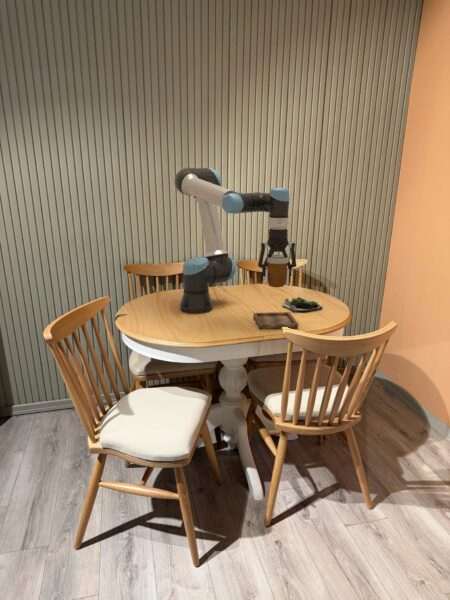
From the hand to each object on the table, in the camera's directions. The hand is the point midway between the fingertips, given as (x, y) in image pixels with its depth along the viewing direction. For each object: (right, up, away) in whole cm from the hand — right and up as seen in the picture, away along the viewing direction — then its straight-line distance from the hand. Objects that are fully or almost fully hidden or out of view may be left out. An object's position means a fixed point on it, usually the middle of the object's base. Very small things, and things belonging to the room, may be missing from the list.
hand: (276, 283), depth 171 cm
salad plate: (+15, -11, +26) cm, 32 cm away
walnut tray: (0, -16, +5) cm, 17 cm away
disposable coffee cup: (0, -1, 0) cm, 1 cm away
